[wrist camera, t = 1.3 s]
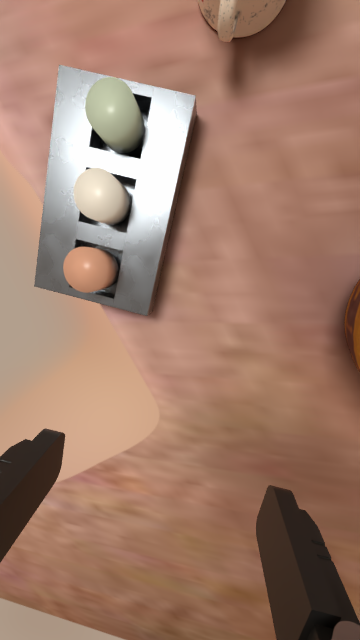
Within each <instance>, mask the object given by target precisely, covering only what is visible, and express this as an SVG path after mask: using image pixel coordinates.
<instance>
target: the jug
mask: <svg viewBox="0 0 360 640" xmlns="http://www.w3.org/2000/svg"><path fill="white" fill-rule="evenodd" d="M345 335H346V339H347V343H348V347H349V350H350V353H351V356H352V358H353V361H354V363H355V365H356V367H357V369H358V371H359V372H360V280H359V281H358V283H357V284H356V286H355V288H354V290H353V292H352V294H351V296H350V299H349V302H348V305H347V309H346V314H345Z"/></svg>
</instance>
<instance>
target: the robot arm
mask: <svg viewBox="0 0 360 640" xmlns="http://www.w3.org/2000/svg"><path fill="white" fill-rule="evenodd" d="M64 441H65V434H64V433H61V432H57V431H53V430H49V429H43V430H42V431H41V432H40V433H39V434H38V435H37V436H36V437H35V438H34V439H33V440H32V441H30V440H26V439H25V440H23V441H21V442H19V443H18V444H16V445H14V446H12V447H10V448H9V449H8V450H7V451H6V452H5V453H4V454H3V455H2V456H0V562H1V561H2V559H3V558H4V556H5V555H6V554H7V552H8V551H9V549H10V548H11V546H12V545H13V543H14V542H15V540H16V539H17V537H18V536H19V535H20V533H21V532H22V530H23V529H24V527H25V526H26V524H27V523H28V521H29V520H30V518H31V517H32V515H33V514H34V513H35V511H36V510H37V508H38V507H39V505H40V504H41V502H42V501H43V499H44V498H45V496H46V495H47V494H48V492H49V491H50V489H51V488H52V486H53V485H54V483H55V481H56V479H57V477H58V475H59V472H60V469H61V465H62V457H63V449H64ZM256 535H257V541H258V547H259V552H260V557H261V562H262V567H263V572H264V577H265V582H266V587H267V592H268V597H269V603H270V608H271V613H272V618H273V623H274V628H275V633H276V638H277V640H360V622H359V620H358V618H357V616H356V613H355V611H354V609H353V606H352V604H351V602H350V600H349V597H348V595H347V593H346V590H345V588H344V586H343V584H342V581H341V579H340V577H339V574H338V572H337V570H336V568H335V565H334V563H333V562H332V561H331V556H330V554H329V552H328V549H327V547H325V542H324V540H323V538H322V536H321V533H320V531H319V529H318V526H317V525H316V524H315V522H314V521H313V520H312V519H311V517H310V516H309V515H308V513H307V512H306V511H305V510H301V509H299V508H298V505H297V503H296V500H295V498H294V495H293V493H292V492H291V491H290V490H287V489H283V488H279V487H275V486H271V485H270V486H269V487H268V488H267V491H266V494H265V496H264V499H263V502H262V505H261V508H260V511H259V514H258V517H257V522H256Z"/></svg>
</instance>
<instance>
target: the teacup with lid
mask: <svg viewBox="0 0 360 640" xmlns="http://www.w3.org/2000/svg"><path fill="white" fill-rule="evenodd" d="M285 1H286V0H198V4H199V7H200V10H201V12H202V14H203V16H204V17H205V19H206V20H207V22H208V23H209V24H210V25H211V26H212V27H213V28H214V29H215V30H216V31H218V37H219V39H220V40H221V41H223V42H230V41H231V40H232V38H233V37H246V36H250V35H253V34H255V33H257V32H259V31H261V30H262V29H264V28H265V27H266V26H268V25H269V24H270V23H271V22H272V21H273V20H274V18H275V17H276V16H277V15H278V13H279V12H280V11H281V9H282V7H283V5H284V3H285Z"/></svg>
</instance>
